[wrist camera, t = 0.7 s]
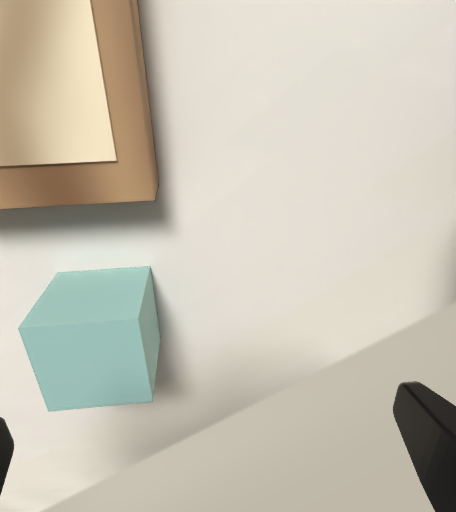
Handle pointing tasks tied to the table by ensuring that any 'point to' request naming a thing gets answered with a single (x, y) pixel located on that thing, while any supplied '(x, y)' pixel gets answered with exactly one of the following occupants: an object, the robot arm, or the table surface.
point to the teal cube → (94, 338)
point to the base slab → (73, 104)
